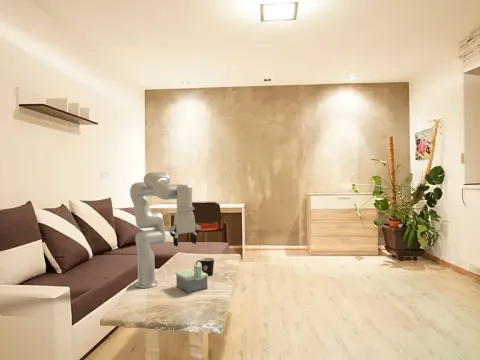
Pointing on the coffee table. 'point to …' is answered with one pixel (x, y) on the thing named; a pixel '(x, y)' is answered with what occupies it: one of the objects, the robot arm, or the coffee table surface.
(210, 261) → the coffee mug
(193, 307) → the coffee table surface
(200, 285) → the tub
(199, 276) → the lid
